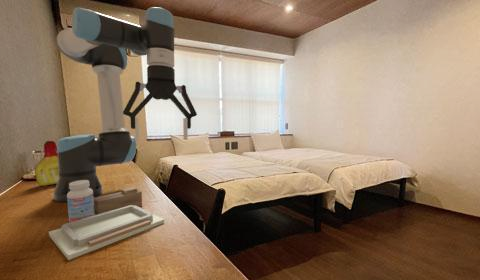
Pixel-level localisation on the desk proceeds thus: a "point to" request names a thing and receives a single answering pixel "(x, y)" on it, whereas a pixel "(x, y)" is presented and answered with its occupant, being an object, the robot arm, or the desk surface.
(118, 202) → the brown block
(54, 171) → the bottle
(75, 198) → the pill bottle
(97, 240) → the tray
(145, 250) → the desk surface
